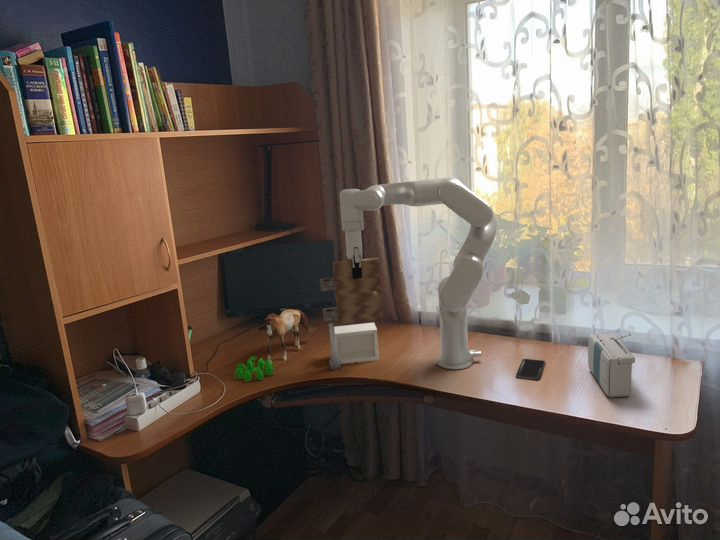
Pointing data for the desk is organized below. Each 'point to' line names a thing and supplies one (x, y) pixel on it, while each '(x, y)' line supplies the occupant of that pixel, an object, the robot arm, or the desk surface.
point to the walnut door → (354, 292)
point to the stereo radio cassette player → (610, 364)
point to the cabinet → (353, 344)
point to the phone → (530, 369)
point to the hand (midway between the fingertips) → (356, 276)
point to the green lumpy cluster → (254, 369)
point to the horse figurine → (286, 327)
